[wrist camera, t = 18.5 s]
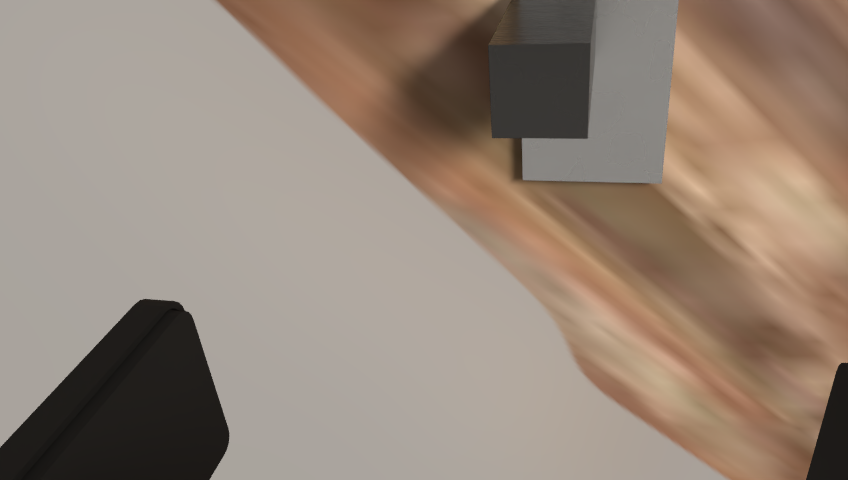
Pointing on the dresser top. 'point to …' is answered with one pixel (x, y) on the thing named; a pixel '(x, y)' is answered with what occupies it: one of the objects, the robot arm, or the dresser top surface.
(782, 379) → the dresser top surface
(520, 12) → the scraper
